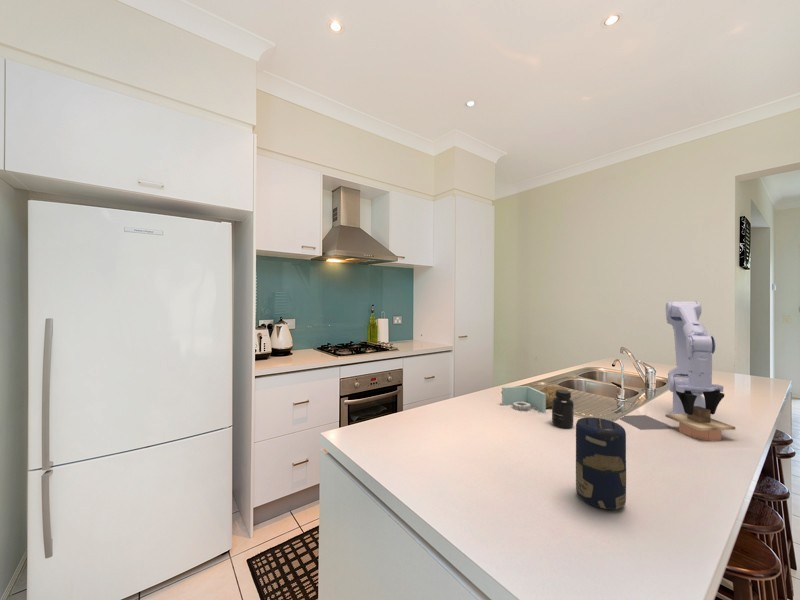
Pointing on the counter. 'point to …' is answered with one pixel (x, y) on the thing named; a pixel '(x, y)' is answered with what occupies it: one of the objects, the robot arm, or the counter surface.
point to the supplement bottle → (562, 410)
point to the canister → (601, 462)
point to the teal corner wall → (524, 398)
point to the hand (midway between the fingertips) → (699, 413)
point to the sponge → (551, 394)
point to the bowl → (700, 433)
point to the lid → (700, 420)
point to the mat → (645, 422)
